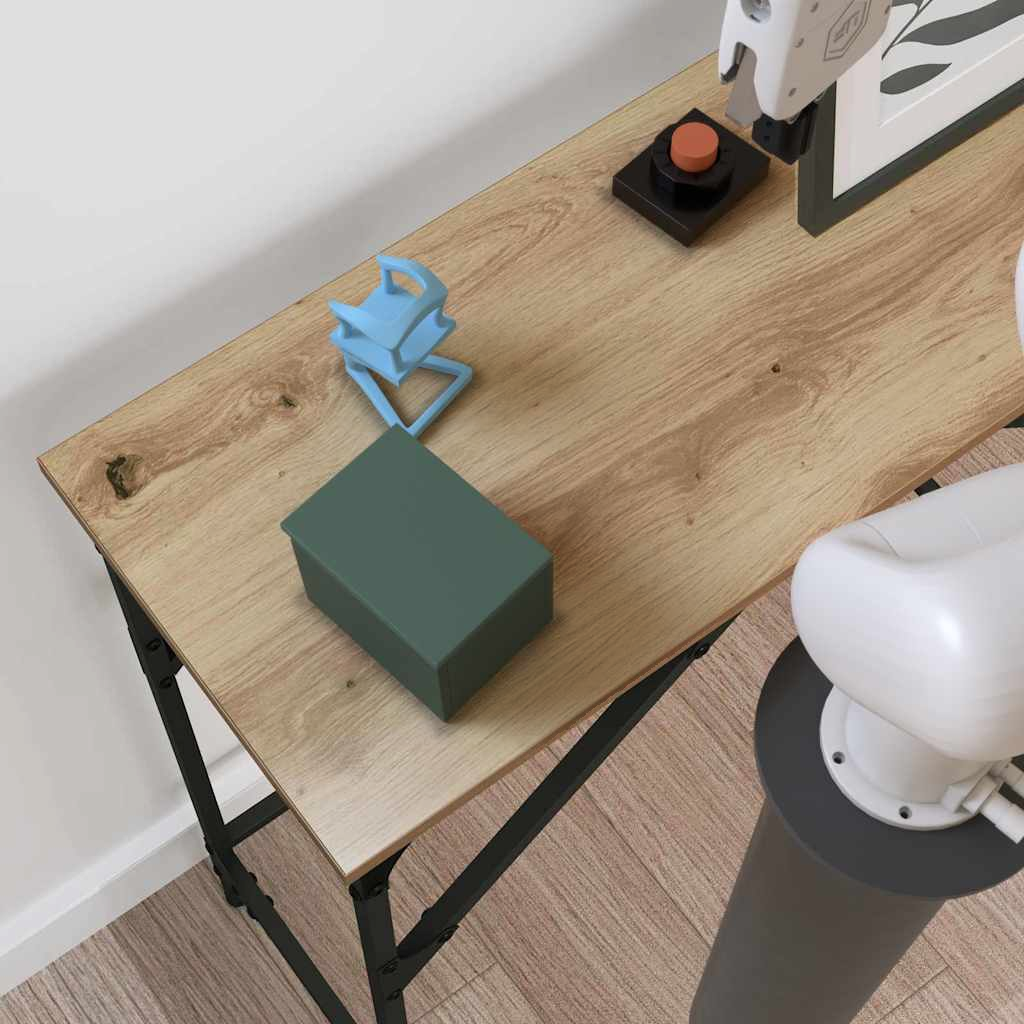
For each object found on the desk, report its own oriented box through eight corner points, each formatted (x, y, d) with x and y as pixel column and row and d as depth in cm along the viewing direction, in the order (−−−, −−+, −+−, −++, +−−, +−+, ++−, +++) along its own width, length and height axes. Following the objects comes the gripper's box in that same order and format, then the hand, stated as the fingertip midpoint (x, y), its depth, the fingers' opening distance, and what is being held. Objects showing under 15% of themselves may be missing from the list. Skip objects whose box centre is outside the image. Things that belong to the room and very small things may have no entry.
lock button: (725, 154, 127) (728, 138, 125) (695, 179, 126) (697, 164, 124) (690, 130, 128) (692, 115, 127) (660, 155, 127) (662, 140, 125)
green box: (307, 598, 113) (289, 539, 105) (415, 501, 116) (406, 437, 109) (445, 723, 108) (437, 671, 100) (553, 619, 112) (553, 560, 104)
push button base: (768, 176, 130) (774, 142, 127) (686, 248, 127) (690, 215, 123) (692, 125, 133) (696, 90, 130) (611, 194, 130) (613, 160, 126)
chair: (391, 322, 124) (376, 222, 114) (475, 377, 121) (468, 279, 111) (324, 389, 121) (303, 292, 111) (409, 447, 119) (396, 353, 108)
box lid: (280, 528, 105) (278, 523, 104) (397, 427, 109) (396, 421, 108) (437, 670, 100) (436, 665, 100) (553, 560, 104) (554, 554, 103)
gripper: (790, 11, 77) (748, 253, 93) (976, -146, 82) (906, 109, 98) (670, -64, 79) (649, 184, 95) (858, -212, 84) (809, 47, 100)
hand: (779, 145), depth 97 cm, fingers closed
